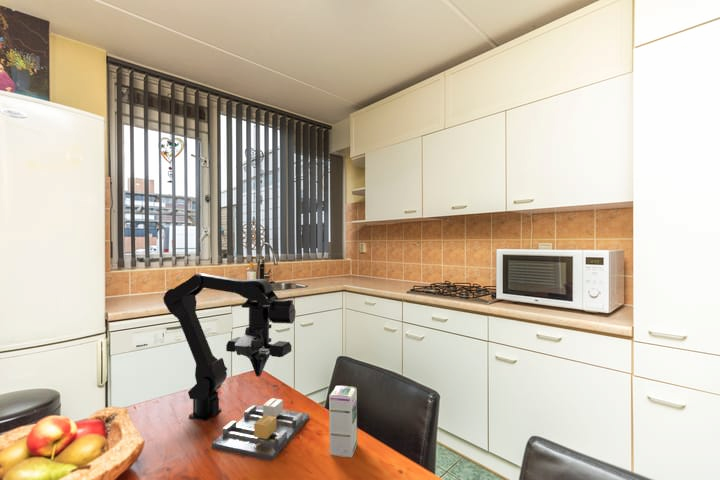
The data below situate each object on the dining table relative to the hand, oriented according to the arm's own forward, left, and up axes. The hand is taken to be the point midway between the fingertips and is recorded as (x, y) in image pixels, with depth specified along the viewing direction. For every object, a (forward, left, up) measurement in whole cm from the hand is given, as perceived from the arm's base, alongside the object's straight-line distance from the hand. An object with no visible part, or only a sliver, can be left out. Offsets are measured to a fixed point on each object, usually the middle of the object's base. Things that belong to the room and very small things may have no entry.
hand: (258, 376), depth 96 cm
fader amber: (+9, -11, -11) cm, 18 cm away
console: (+6, -6, -12) cm, 15 cm away
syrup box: (+29, -7, -12) cm, 32 cm away
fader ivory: (+6, -2, -11) cm, 12 cm away
